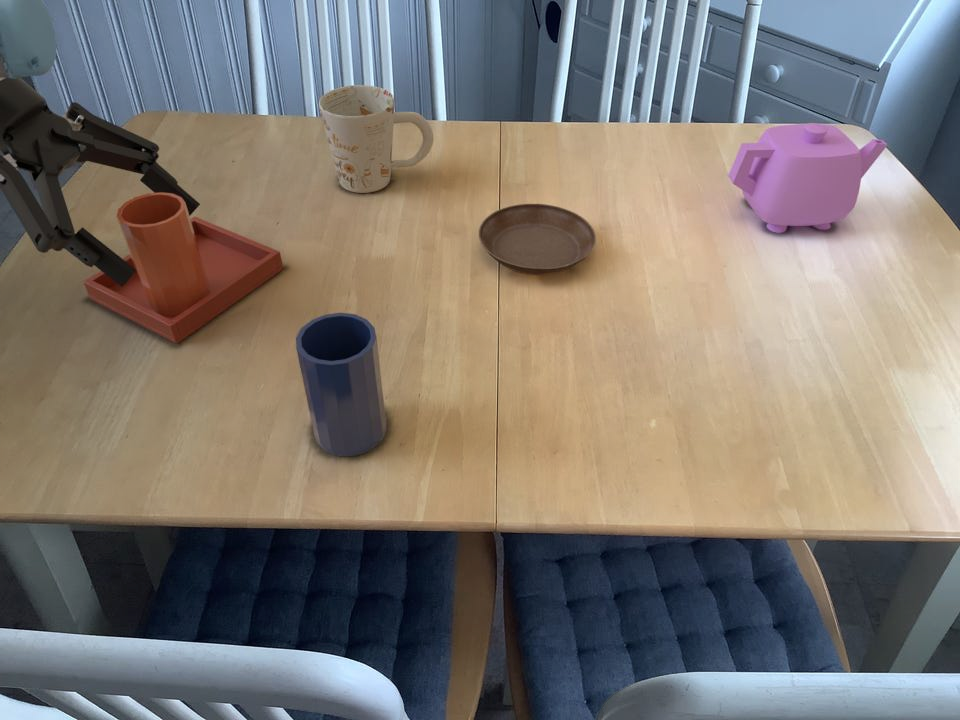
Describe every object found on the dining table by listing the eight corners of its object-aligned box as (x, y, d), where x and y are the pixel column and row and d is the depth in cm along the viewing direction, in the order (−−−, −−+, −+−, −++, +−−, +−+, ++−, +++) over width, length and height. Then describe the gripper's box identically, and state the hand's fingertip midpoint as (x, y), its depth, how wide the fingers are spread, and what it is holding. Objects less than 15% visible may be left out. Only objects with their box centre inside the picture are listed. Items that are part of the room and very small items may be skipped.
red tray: (176, 344, 86) (170, 326, 84) (90, 299, 92) (82, 281, 90) (283, 269, 97) (280, 251, 95) (199, 233, 103) (194, 216, 101)
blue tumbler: (355, 467, 73) (340, 375, 65) (300, 437, 76) (279, 345, 68) (400, 422, 78) (391, 329, 69) (346, 395, 80) (331, 303, 72)
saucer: (608, 235, 103) (611, 218, 101) (570, 298, 93) (572, 279, 91) (506, 210, 107) (506, 193, 105) (459, 267, 97) (458, 249, 95)
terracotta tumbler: (177, 324, 88) (146, 233, 80) (135, 303, 91) (102, 214, 83) (223, 292, 92) (199, 204, 84) (182, 273, 95) (155, 186, 87)
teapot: (737, 243, 101) (761, 154, 93) (706, 194, 110) (725, 109, 102) (882, 233, 103) (919, 145, 95) (839, 186, 112) (869, 101, 104)
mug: (328, 167, 116) (317, 87, 108) (429, 158, 118) (426, 79, 110) (331, 201, 109) (320, 119, 101) (439, 191, 111) (437, 110, 103)
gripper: (51, 75, 90) (201, 204, 97) (-117, 179, 72) (83, 328, 79) (76, 32, 85) (231, 171, 93) (-97, 131, 67) (113, 294, 75)
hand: (163, 243), depth 86 cm, fingers open, 13 cm apart
